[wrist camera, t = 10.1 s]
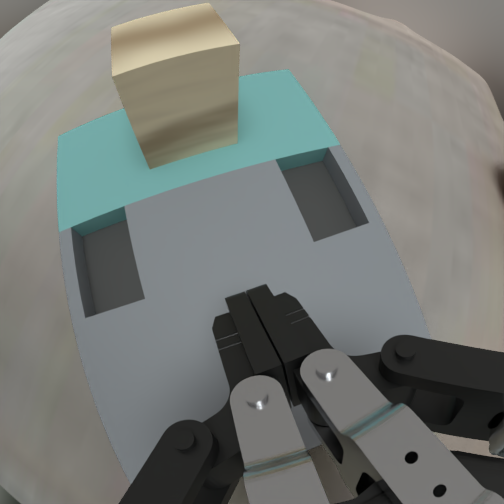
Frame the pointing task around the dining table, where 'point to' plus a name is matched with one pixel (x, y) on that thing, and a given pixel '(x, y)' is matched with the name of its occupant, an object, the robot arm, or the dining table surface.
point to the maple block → (178, 82)
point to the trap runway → (215, 257)
